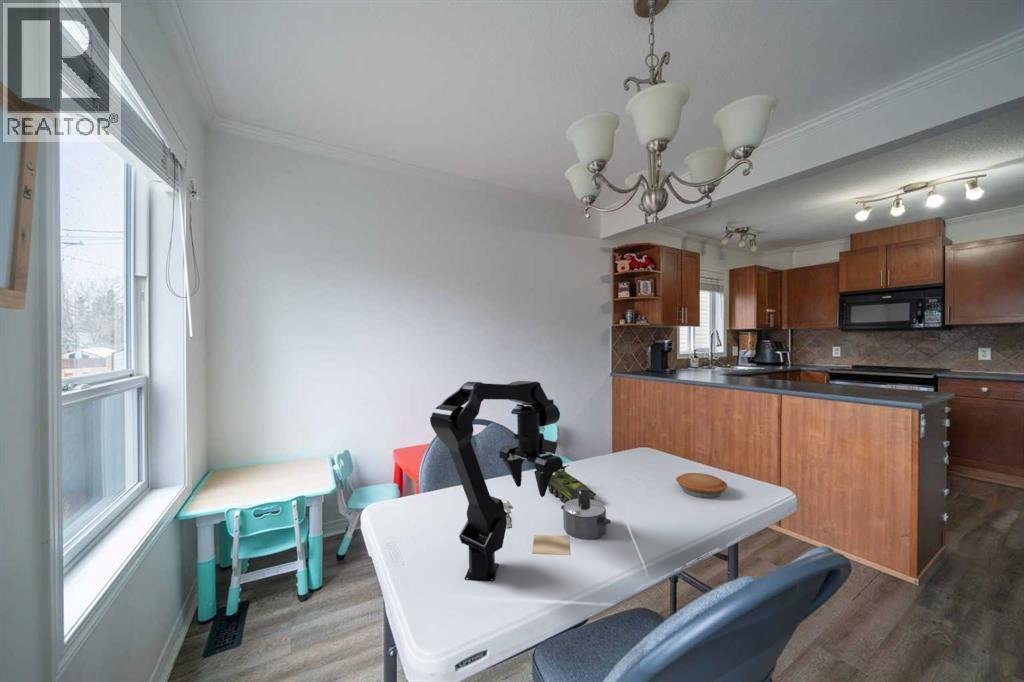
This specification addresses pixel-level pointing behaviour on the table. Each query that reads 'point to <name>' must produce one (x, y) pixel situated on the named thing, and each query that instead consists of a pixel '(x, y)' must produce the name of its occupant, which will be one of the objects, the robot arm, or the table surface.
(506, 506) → the stone fragment
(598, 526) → the pot
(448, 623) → the table surface
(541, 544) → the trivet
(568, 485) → the toy vehicle
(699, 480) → the pie
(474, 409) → the robot arm
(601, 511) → the lid
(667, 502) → the table surface
